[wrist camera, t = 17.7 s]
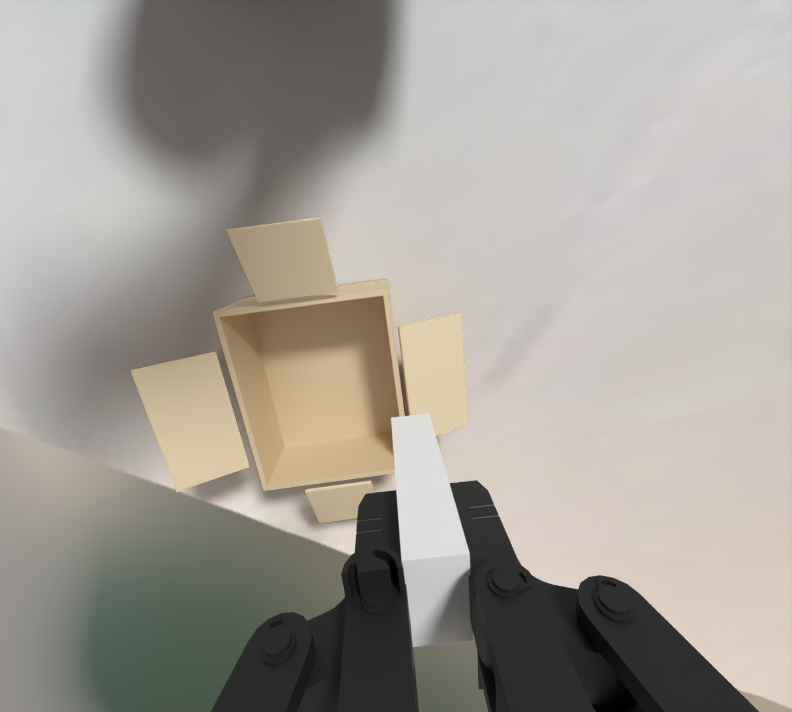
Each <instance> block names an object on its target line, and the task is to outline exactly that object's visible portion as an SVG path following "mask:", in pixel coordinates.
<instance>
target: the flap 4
mask: <svg viewBox="0 0 792 712" xmlns="http://www.w3.org/2000/svg"><path fill="white" fill-rule="evenodd" d="M398 333H399V341H400V349H401V357H402V365H403V373H404V381H405V389H406V397H407V405H408V413H409V416H411V415H420V414H430V418H431V421H432V425H433V428H434V432H435V435H436V436H438V435H441V434H444V433H447V432H450V431H453V430H456V429H458V428H461V427H464V426H467V425H469V423H468V408H467V394H466V379H465V364H464V349H463V334H462V320H461V313H457V314H452V315H448V316H443V317H439V318H434V319H430V320H425V321H421V322H416V323H412V324H407V325H403V326H398Z"/></svg>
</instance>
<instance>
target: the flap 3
mask: <svg viewBox="0 0 792 712" xmlns="http://www.w3.org/2000/svg"><path fill="white" fill-rule="evenodd" d="M305 493H306V495H307V497H308V500H309V502H310V504H311V506H312V508H313V510H314V512H315V515H316V517H317V519H318V521H319V523H325V522H332V521H339V520H347V519H354V518H357V516H358V506H359V504H360V502H361V501H362V499H363V497H364V496H365V494H367V493H374V489H373V485H372V481H364V482H356V483H349V484H341V485H334V486H327V487H319V488H312V489H306V490H305Z"/></svg>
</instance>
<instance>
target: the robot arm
mask: <svg viewBox="0 0 792 712" xmlns="http://www.w3.org/2000/svg"><path fill="white" fill-rule="evenodd" d="M391 424H392V437H393V451H394V465H395V478H396V490H395V491H386V492H377V493H367V494H365V496H364V497H363V499H362V501H361V502H360V504H359V506H358V516H357V530H356V532H357V534H356V544H355V553H354V554H352V555H351V556H350V558H349V559H348V560H347V561H346V563H345V564H344V567H343V571H342V573H341V575H342V581H343V586H344V591H345V598H344V599H343V600H342V602H340V603H339V604H338V605H337V606H336V607H335V608H333V609H331V610H329V611H328V612H326V613H324V614H322V615H319V616H317V617H315V618H313V619H311V620H309V621H307V620H306V619H305V618H304V617H303V616H301V615H299V614H296V613H294V612H292V613H281V614H279V615H276V616H274V617H272V618H269V619H268V620H267V621H266V622H265V623H263V624H262V625H261V626H260V627H258V628H257V630H256V631H255V633H254V634H253V635H252V637H251V638H250V640H249V641H248V643H247V645H246V647H245V649H244V651H243V653H242V654H241V656H240V658H239V660H238V662H237V664H236V666H235V668H234V669H233V671H232V673H231V675H230V677H229V679H228V681H227V683H226V685H225V686H224V688H223V690H222V692H221V694H220V696H219V698H218V699H217V701H216V703H215V705H214V707H213V709H212V711H211V712H419V708H418V698H417V687H416V675H415V666H414V657H413V647H417V646H426V645H433V644H443V643H450V642H460V641H468V640H473V634H474V638H475V642H476V646H477V651H478V681H479V689H483V690H484V695H485V699H486V703H487V708H488V712H759V711H758V710H757V709H756V708H755V707H754V706H753V705H751V703H749V702H748V700H747V699H746V698H745V697H744V696H743V695H742V694H740V693H739V691H738V690H737V689H735V688H734V687H733V686H732V685H731V684H730V683H729V682H728V681H727V680H726V679H725V678H724V677H723V676H722V675H721V674H720V673H719V672H718V671H717V670H716V669H715V668H714V667H713V666H712V665H711V664H710V663H709V662H708V661H707V660H706V659H705V658H704V657H703V656H702V655H701V654H700V653H699V652H698V651H697V650H696V649H695V648H694V647H693V646H692V645H691V644H690V643H689V642H688V641H687V640H686V639H685V638H684V637H683V636H682V635H681V634H680V633H679V632H678V631H677V630H676V629H675V628H674V627H673V626H672V625H671V624H670V623H669V622H668V621H667V620H666V619H665V618H664V617H663V616H662V615H661V614H660V613H658V612H657V611H656V610H655V609H654V608H653V607H652V606H651V605H650V604H649V603H648V602H647V601H646V600H645V599H644V598H643V597H642V596H641V595H640V594H639V593H638V592H637V591H635V590H634V589H633V588H631V587H630V586H629V585H628V584H626V583H624V582H621V581H619V580H617V579H615V578H612V577H606V576H601V575H599V576H593V577H588V578H587V579H585V580H584V581H583V582H581V583H580V586H579V589H573V588H567V587H562V586H557V585H553V584H549V583H546V582H543V581H541V580H539V579H537V578H535V577H534V576H532V575H531V574H530V572H529V571H528V570H527V569H525V568H524V567H523V566H522V565H521V564H520V562H519V560H518V559H517V557H516V554H515V552H514V550H513V547H512V545H511V543H510V540H509V538H508V536H507V533H506V531H505V529H504V527H503V524H502V522H501V520H500V517H499V516H498V513H497V510H496V508H495V506H494V503H493V501H492V499H491V496H490V494H489V492H488V490H487V489H486V488H485V487H483V486H482V485H481V484H480V483H479V482H478V481H477V480H476V481H467V482H458V483H449V480H448V477H447V473H446V470H445V466H444V463H443V459H442V456H441V452H440V449H439V445H438V442H437V439H436V435H435V432H434V428H433V425H432V421H431V418H430V414H420V415H411V416H401V417H392V418H391ZM472 630H473V632H472ZM472 633H473V634H472Z"/></svg>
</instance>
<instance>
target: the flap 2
mask: <svg viewBox="0 0 792 712" xmlns="http://www.w3.org/2000/svg"><path fill="white" fill-rule="evenodd" d="M226 232H227V234H228V236H229V239H230V241H231V243H232V245H233V248H234V250H235V252H236V254H237V257H238V259H239V261H240V263H241V266H242V268H243V270H244V272H245V275H246V277H247V279H248V281H249V284H250V286H251V288H252V290H253V293H254V295H255V297H256V299H257V301H258V302H266V301H273V300H281V299H289V298H296V297H304V296H312V295H319V294H327V293H334V292H338V287H337V283H336V279H335V275H334V271H333V267H332V263H331V258H330V254H329V250H328V246H327V242H326V238H325V234H324V230H323V226H322V221H321V217H317V218H309V219H302V220H294V221H286V222H279V223H271V224H263V225H256V226H248V227H240V228H232V229H227V231H226Z"/></svg>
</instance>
